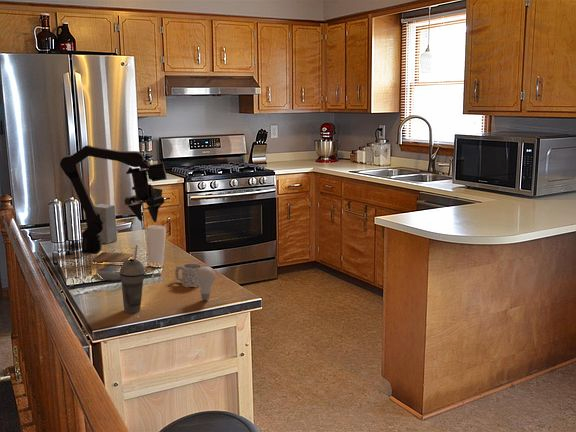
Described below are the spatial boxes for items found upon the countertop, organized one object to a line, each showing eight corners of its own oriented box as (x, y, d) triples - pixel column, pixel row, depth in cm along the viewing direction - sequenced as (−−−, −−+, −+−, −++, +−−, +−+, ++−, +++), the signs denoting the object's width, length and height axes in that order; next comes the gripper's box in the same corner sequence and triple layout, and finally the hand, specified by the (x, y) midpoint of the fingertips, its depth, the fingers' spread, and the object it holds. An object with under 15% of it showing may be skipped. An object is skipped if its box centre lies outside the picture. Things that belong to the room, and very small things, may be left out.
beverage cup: (122, 306, 178) (122, 241, 175) (146, 306, 179) (147, 242, 175) (117, 314, 171) (117, 247, 167) (142, 315, 172) (143, 248, 168)
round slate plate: (91, 279, 202) (91, 275, 201) (103, 269, 214) (103, 265, 214) (130, 281, 202) (130, 277, 202) (139, 270, 215) (139, 266, 214)
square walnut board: (92, 264, 220) (92, 260, 219) (102, 255, 232) (102, 252, 231) (125, 265, 220) (125, 261, 220) (132, 257, 232) (132, 253, 231)
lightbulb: (218, 299, 189) (219, 265, 187) (209, 304, 184) (210, 270, 181) (201, 296, 191) (201, 263, 189) (191, 301, 185) (192, 267, 183)
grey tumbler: (167, 264, 224) (168, 225, 222) (161, 269, 217) (162, 229, 215) (149, 263, 225) (150, 224, 222) (143, 267, 218) (144, 227, 216)
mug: (205, 284, 204) (205, 265, 203) (194, 289, 198) (194, 270, 197) (181, 279, 208) (181, 260, 207) (169, 284, 202) (170, 265, 201)
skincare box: (117, 241, 255) (117, 205, 252) (105, 244, 249) (105, 207, 246) (102, 238, 259) (102, 202, 256) (90, 241, 253) (90, 205, 250)
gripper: (171, 179, 235) (178, 217, 238) (142, 179, 247) (149, 215, 250) (149, 185, 227) (156, 224, 230) (120, 184, 239) (127, 222, 242)
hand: (148, 221), depth 238 cm, fingers open, 9 cm apart
